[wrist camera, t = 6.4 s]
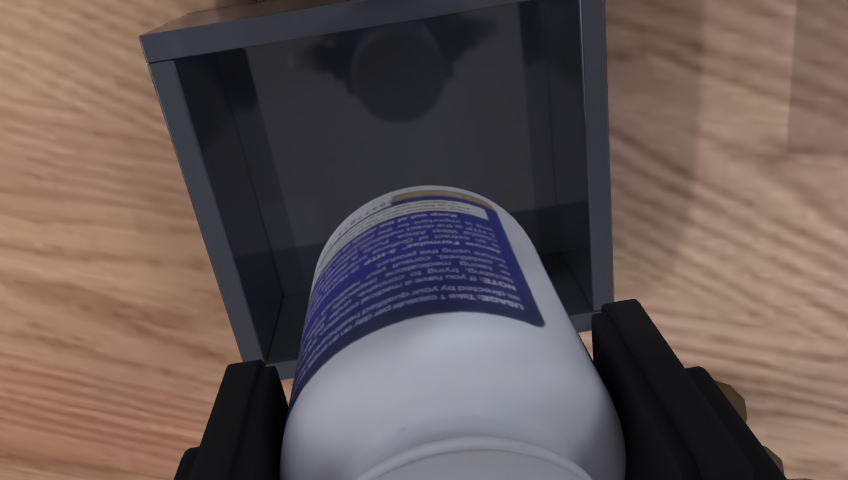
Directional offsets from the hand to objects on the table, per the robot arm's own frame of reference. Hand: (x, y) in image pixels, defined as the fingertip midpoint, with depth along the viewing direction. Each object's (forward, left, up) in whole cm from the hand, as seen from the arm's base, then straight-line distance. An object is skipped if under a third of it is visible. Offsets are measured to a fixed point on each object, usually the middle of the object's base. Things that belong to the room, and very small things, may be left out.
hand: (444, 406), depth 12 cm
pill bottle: (0, 0, -5) cm, 5 cm away
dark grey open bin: (+1, 0, -17) cm, 17 cm away
